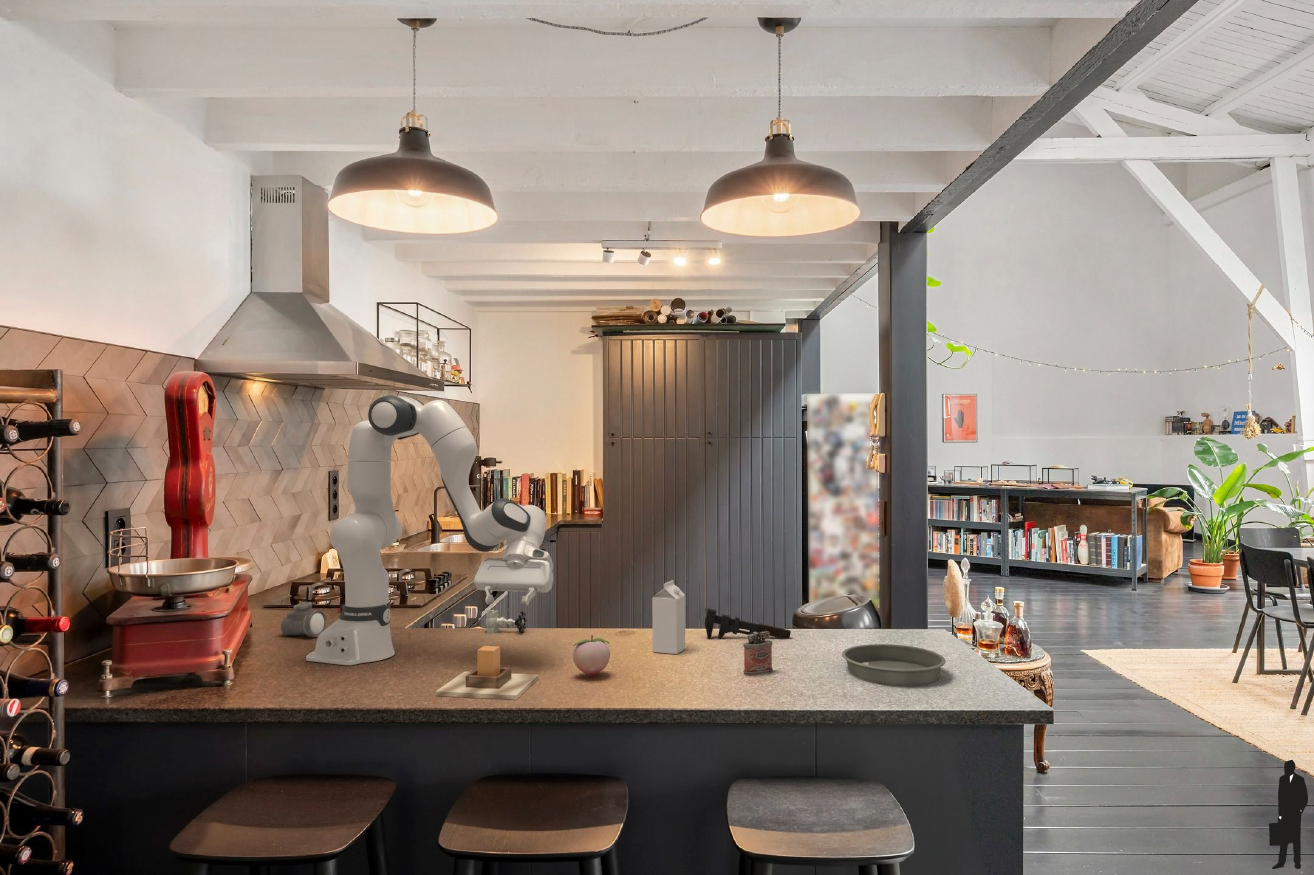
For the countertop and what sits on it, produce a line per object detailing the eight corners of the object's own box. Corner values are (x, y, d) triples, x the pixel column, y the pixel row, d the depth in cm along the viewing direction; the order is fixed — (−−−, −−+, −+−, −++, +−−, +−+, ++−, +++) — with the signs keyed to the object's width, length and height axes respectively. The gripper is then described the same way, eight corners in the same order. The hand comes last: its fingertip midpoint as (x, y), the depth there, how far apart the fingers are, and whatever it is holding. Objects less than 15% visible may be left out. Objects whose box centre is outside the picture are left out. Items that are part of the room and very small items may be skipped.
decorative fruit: (583, 683, 181) (582, 641, 182) (568, 675, 188) (568, 634, 189) (617, 677, 186) (617, 636, 187) (601, 669, 193) (601, 629, 194)
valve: (482, 634, 232) (520, 635, 230) (482, 612, 232) (520, 613, 230) (489, 629, 238) (527, 630, 237) (489, 608, 238) (526, 609, 237)
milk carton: (652, 652, 210) (652, 583, 210) (661, 646, 216) (661, 579, 217) (676, 655, 207) (676, 584, 207) (685, 648, 214) (685, 580, 214)
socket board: (435, 695, 173) (435, 680, 173) (464, 675, 188) (464, 661, 189) (516, 699, 170) (516, 683, 170) (538, 678, 185) (538, 664, 185)
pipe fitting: (330, 632, 233) (325, 599, 233) (312, 640, 225) (307, 606, 225) (297, 634, 236) (292, 602, 236) (278, 643, 228) (273, 609, 228)
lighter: (748, 676, 186) (748, 635, 187) (740, 673, 189) (740, 632, 190) (775, 672, 190) (775, 631, 190) (767, 668, 193) (767, 629, 193)
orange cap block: (477, 684, 177) (477, 650, 178) (484, 679, 181) (484, 645, 182) (493, 685, 177) (493, 650, 177) (500, 680, 181) (500, 646, 181)
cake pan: (914, 658, 204) (913, 641, 204) (966, 685, 179) (966, 666, 180) (826, 662, 200) (826, 645, 200) (868, 691, 175) (868, 671, 175)
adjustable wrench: (786, 656, 224) (702, 638, 224) (784, 653, 227) (701, 635, 227) (791, 628, 224) (708, 609, 225) (790, 625, 227) (707, 608, 227)
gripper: (479, 550, 202) (463, 594, 192) (554, 552, 198) (542, 597, 188) (486, 565, 206) (470, 608, 196) (559, 567, 203) (547, 612, 193)
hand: (506, 603), depth 192 cm, fingers open, 8 cm apart
